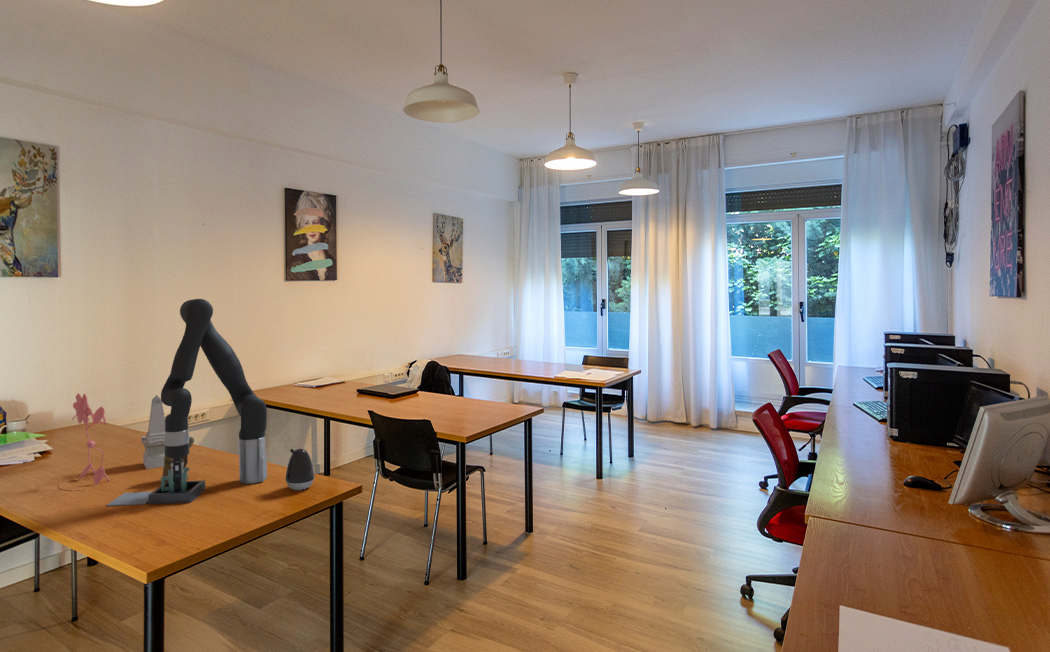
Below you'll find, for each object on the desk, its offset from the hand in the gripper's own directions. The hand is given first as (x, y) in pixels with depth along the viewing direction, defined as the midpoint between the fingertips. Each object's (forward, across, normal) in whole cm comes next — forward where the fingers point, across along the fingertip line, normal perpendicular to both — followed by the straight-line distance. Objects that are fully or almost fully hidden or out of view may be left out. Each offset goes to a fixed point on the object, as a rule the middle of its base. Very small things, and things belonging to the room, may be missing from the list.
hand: (177, 488), depth 201 cm
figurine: (+3, +33, +32) cm, 46 cm away
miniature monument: (+3, +49, +8) cm, 50 cm away
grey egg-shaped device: (+3, -11, -40) cm, 41 cm away
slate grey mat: (+3, +5, +13) cm, 14 cm away
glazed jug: (+3, 0, 0) cm, 3 cm away
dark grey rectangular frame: (+3, 0, 0) cm, 3 cm away
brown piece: (+3, +20, 0) cm, 20 cm away
